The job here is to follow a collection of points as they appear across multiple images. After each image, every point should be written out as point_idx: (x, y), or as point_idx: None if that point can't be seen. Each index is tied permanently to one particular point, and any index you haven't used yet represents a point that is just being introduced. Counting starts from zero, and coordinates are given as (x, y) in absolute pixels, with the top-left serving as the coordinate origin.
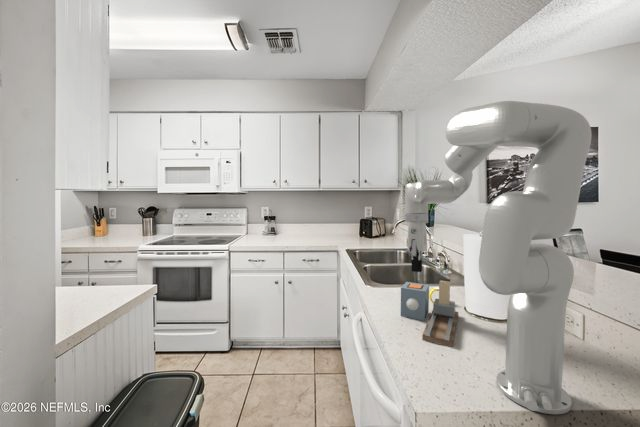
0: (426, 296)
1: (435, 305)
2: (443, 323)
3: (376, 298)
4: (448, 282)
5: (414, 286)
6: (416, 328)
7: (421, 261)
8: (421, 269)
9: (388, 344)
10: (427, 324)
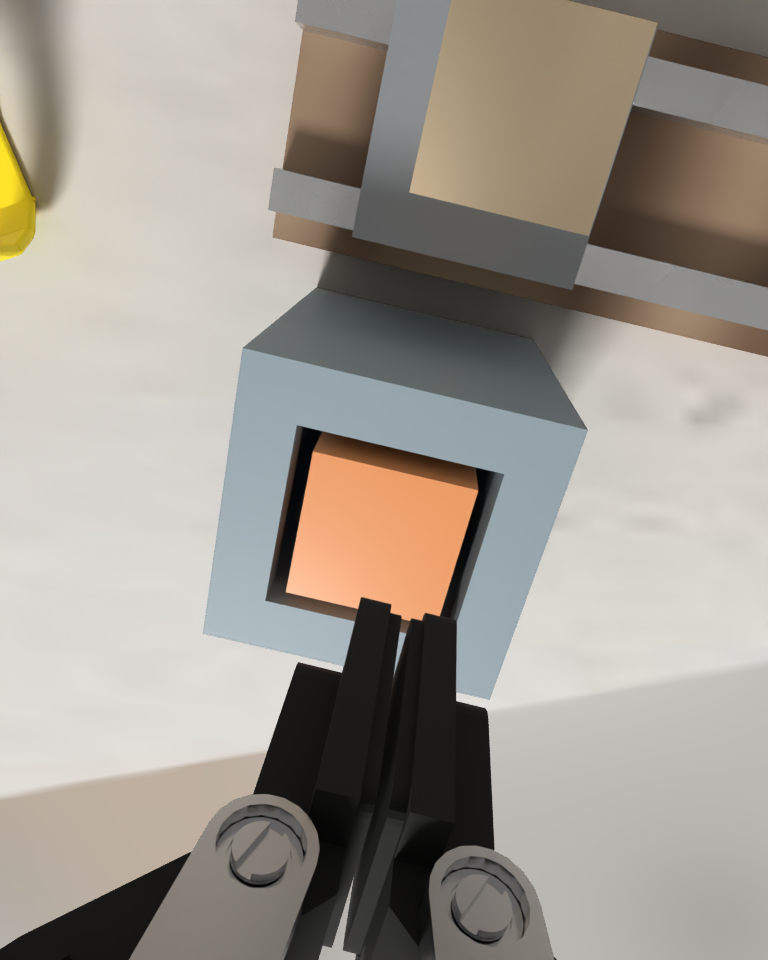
0: (470, 375)
1: (577, 263)
2: (683, 179)
3: (148, 700)
4: (530, 22)
5: (405, 554)
6: (702, 418)
7: (367, 771)
8: (388, 626)
9: None
10: (723, 339)
